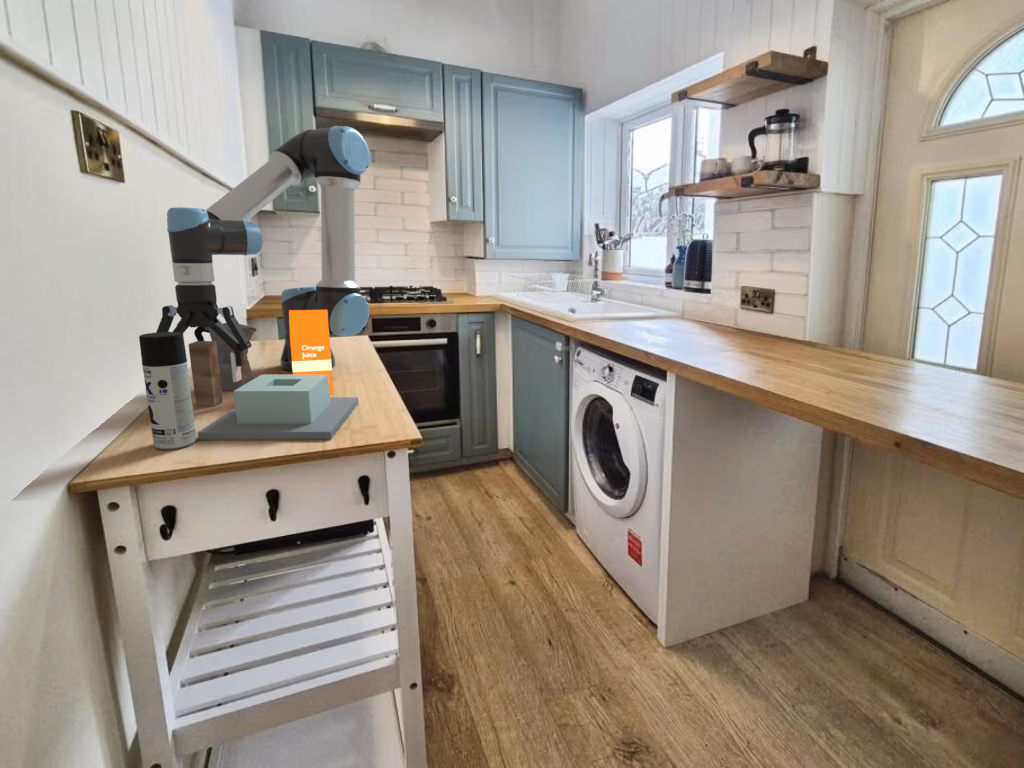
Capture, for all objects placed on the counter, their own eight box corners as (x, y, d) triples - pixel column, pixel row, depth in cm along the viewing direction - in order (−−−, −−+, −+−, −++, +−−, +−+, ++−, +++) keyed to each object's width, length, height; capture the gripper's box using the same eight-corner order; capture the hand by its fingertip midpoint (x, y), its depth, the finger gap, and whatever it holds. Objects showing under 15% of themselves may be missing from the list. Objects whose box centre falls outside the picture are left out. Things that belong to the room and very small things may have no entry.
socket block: (250, 403, 126) (247, 369, 124) (358, 403, 128) (356, 369, 126) (198, 440, 103) (193, 398, 101) (331, 439, 104) (328, 398, 102)
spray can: (151, 442, 101) (134, 333, 96) (193, 435, 106) (179, 330, 101) (157, 453, 96) (140, 338, 92) (201, 445, 101) (187, 334, 96)
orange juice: (296, 388, 140) (289, 308, 135) (333, 386, 143) (327, 307, 138) (294, 396, 133) (287, 312, 128) (333, 394, 135) (328, 311, 130)
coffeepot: (270, 382, 146) (263, 313, 141) (252, 391, 136) (245, 318, 132) (211, 381, 146) (203, 312, 142) (190, 390, 137) (180, 317, 133)
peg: (204, 401, 128) (197, 340, 124) (222, 401, 128) (216, 341, 125) (196, 406, 124) (188, 344, 120) (214, 406, 124) (207, 344, 121)
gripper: (123, 283, 115) (137, 384, 120) (247, 285, 116) (257, 384, 121) (144, 281, 122) (157, 376, 127) (261, 283, 124) (269, 376, 129)
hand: (206, 380), depth 124 cm, fingers open, 13 cm apart
